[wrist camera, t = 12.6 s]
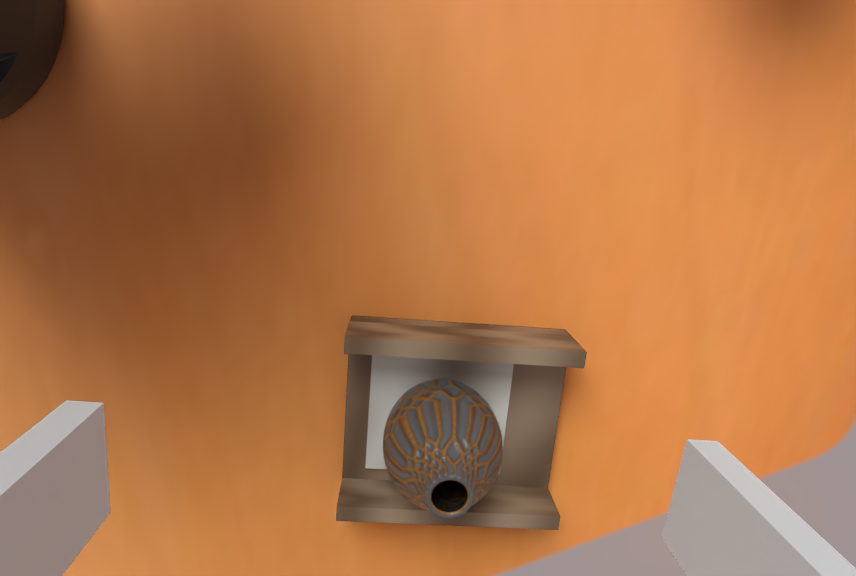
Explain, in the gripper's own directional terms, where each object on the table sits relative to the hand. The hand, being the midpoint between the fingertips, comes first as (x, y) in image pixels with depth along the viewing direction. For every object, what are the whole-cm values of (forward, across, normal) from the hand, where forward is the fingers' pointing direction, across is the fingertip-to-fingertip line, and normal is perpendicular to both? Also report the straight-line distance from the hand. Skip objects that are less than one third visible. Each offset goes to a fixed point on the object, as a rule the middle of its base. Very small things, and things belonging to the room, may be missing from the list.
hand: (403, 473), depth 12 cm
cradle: (+22, +4, -10) cm, 24 cm away
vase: (+20, +4, -9) cm, 23 cm away
